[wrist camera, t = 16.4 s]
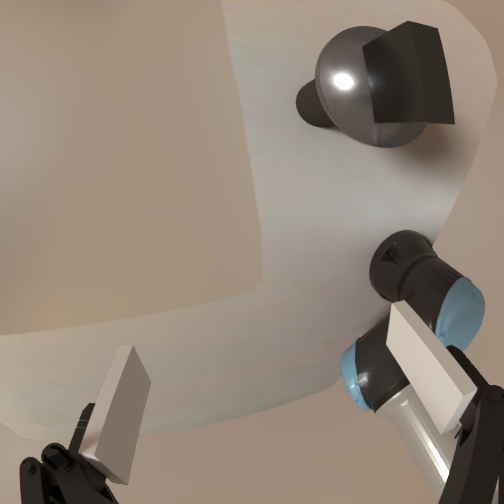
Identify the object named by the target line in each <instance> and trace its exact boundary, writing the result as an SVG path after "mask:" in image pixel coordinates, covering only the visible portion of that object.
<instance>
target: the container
mask: <svg viewBox="0 0 504 504" xmlns="http://www.w3.org/2000/svg"><path fill="white" fill-rule="evenodd" d="M296 107H297V110H298V113H299V114H300V116H301V117H302V118H303V120H305V121H306V122H307V123H309V124H311V125H313V126H317V127H328V126H335V124H334V123H333V121H332V120H331V119H330V118H329V116H328V115H327V113H326V112H325V110H324V108H323V106H322V104H321V102H320V99H319V96H318V93H317V89H316V82H315V79H314V80H312V81H310V82H309V83H307V84H306V85H305V86H303V87H302V88H301V89H300V91H299V92H298V95H297V98H296Z"/></svg>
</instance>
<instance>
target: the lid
mask: <svg viewBox="0 0 504 504" xmlns="http://www.w3.org/2000/svg"><path fill="white" fill-rule="evenodd" d="M315 82H316V89H317V93H318V96H319V99H320V102H321V104H322V106H323V108H324V110H325V112H326V113H327V115H328V116H329V118H330V119H331V120H332V121H333V123H334V124H335V125H336V126H337V127H338V128H339V129H340V130H341V131H342V132H344V133H345V134H346V135H347V136H349V137H351V138H352V139H354V140H356V141H358V142H360V143H363V144H366V145H369V146H375V147H383V148H393V147H399V146H403V145H405V144H407V143H410V142H411V141H413V140H414V139H415V138H416V137H418V136H419V135H420V134H421V132H422V131H423V130H424V128H425V127H426V125H427V123H430V124H454V125H455V121H454V111H453V102H452V95H451V88H450V82H449V76H448V71H447V65H446V61H445V56H444V51H443V47H442V43H441V39H440V35H439V31H438V28H434V27H431V26H427V25H423V24H419V23H415V22H411V21H406V22H404V23H403V24H401V25H399V26H397V27H395V28H393V29H392V30H390V31H385V30H383V29H380V28H375V27H370V26H359V27H353V28H349V29H346V30H344V31H342V32H340V33H339V34H337V35H336V36H335V37H334V38H333V39H331V40H330V41H329V42H328V43H327V44H326V45H325V47H324V48H323V49H322V51H321V53H320V55H319V57H318V60H317V64H316V69H315Z"/></svg>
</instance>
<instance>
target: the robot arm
mask: <svg viewBox="0 0 504 504" xmlns="http://www.w3.org/2000/svg"><path fill="white" fill-rule="evenodd" d="M370 281H371V284H372V286H373V288H374V289H375V290H376V292H377V293H378V294H379V295H380V296H381V297H382V298H384V299H385V300H387V301H390V302H392V307H391V312H390V313H389V314H388V315H387V316H386V317H385V318H383V319H382V320H381V321H380V322H379V323H378V324H376V325H375V326H374V327H373V328H372V329H370V330H369V331H368V332H367V333H365V334H364V335H363V336H362V337H360V338H358V339H357V340H356V341H355V342H354V344H353V345H351V346H350V347H349V348H348V349H347V350H346V351H345V352H344V353H343V354H342V356H341V359H340V371H341V375H342V379H343V382H344V384H345V386H346V389H347V390H348V392H349V394H350V396H351V397H352V399H354V400H355V403H356V404H357V405H358V407H359V408H361V409H362V410H365V411H368V410H372V409H373V411H374V413H375V414H376V416H380V417H386V418H389V419H390V421H391V422H392V424H393V425H394V427H395V429H396V431H397V432H398V434H399V436H400V438H401V439H402V441H403V443H404V444H405V446H406V448H407V450H408V451H409V453H410V455H411V456H412V458H413V460H414V462H415V463H416V465H417V467H418V469H419V470H420V472H421V474H422V476H423V477H424V479H425V481H426V483H427V484H428V486H429V488H430V490H431V492H432V494H433V495H434V497H435V499H436V501H437V503H438V504H504V389H502V388H501V387H499V386H496V385H489V384H488V383H487V382H486V380H485V379H484V378H483V376H482V375H481V374H480V373H479V372H478V370H477V369H476V368H475V367H474V365H473V364H471V362H470V360H469V359H468V358H466V356H465V354H464V353H463V352H462V351H463V350H464V349H466V348H467V347H468V345H469V344H470V343H471V342H472V340H473V339H474V337H475V336H476V334H477V332H478V330H479V328H480V326H481V323H482V320H483V317H484V311H485V301H484V297H483V294H482V292H481V291H480V290H479V289H478V288H477V287H476V286H475V285H474V284H472V282H471V280H469V278H467V277H464V276H463V275H462V274H460V273H459V272H457V271H456V270H455V269H454V268H452V267H451V266H449V265H448V264H447V263H445V262H444V261H442V260H441V259H440V258H438V256H437V254H436V253H435V251H434V250H433V248H432V246H431V244H430V243H429V241H428V240H427V239H426V238H425V237H423V236H422V235H420V234H418V233H417V232H414V231H410V230H404V231H400V232H397V233H394V234H393V235H391V236H389V237H388V238H387V239H386V240H384V241H383V242H382V244H381V245H380V246H379V247H378V249H377V250H376V252H375V254H374V256H373V258H372V261H371V265H370ZM150 385H151V380H150V378H149V376H148V374H147V372H146V370H145V369H144V367H143V365H142V363H141V361H140V359H139V356H138V354H137V352H136V350H135V348H134V346H133V345H122V346H120V347H119V349H118V352H117V354H116V356H115V358H114V361H113V363H112V365H111V368H110V370H109V372H108V375H107V377H106V380H105V382H104V384H103V387H102V389H101V392H100V394H99V397H98V399H97V402H96V403H89V404H88V405H87V406H86V408H85V409H84V410H83V412H82V414H81V417H80V419H79V420H80V421H79V422H78V424H77V428H76V429H75V432H74V435H73V437H72V440H71V443H70V445H69V449H68V450H67V449H66V448H65V447H64V446H63V445H61V444H59V443H51V444H49V445H47V446H46V447H45V449H44V450H43V451H42V454H41V460H42V462H44V463H40V462H39V461H38V460H37V459H36V458H34V457H28V458H26V459H24V460H23V461H22V463H21V465H20V491H21V502H22V504H119V503H118V502H117V500H116V499H115V497H114V495H113V494H112V492H111V490H110V489H109V487H108V486H107V484H106V483H105V481H106V478H108V479H109V480H110V481H112V482H113V483H118V484H124V485H128V482H129V477H130V471H131V466H132V462H133V457H134V452H135V447H136V443H137V438H138V434H139V430H140V425H141V421H142V417H143V413H144V409H145V405H146V401H147V397H148V393H149V389H150ZM459 421H460V423H461V424H462V426H461V428H460V426H459V424H458V422H459ZM498 475H499V490H498V491H497V490H496V484H497V480H498Z"/></svg>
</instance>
